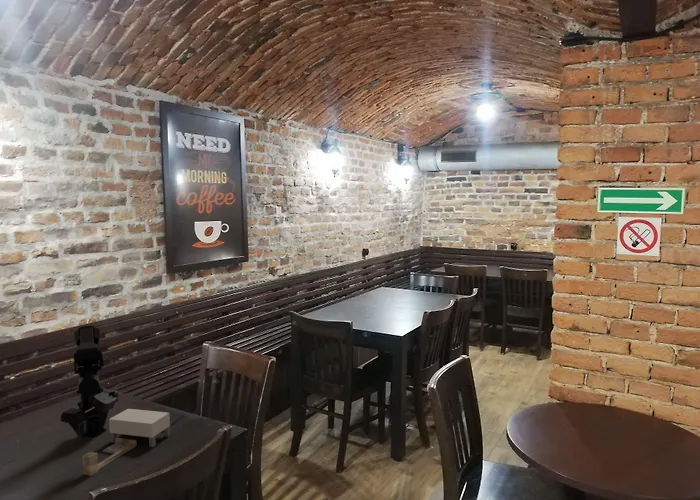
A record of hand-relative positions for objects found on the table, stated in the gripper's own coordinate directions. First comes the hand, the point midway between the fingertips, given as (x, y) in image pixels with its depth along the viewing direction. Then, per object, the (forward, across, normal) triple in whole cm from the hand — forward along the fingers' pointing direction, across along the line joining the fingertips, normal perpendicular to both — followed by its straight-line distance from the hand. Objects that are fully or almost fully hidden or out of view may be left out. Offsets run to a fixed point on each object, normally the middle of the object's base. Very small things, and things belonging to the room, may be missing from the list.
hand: (92, 431), depth 165 cm
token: (+12, +11, +1) cm, 17 cm away
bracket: (+13, +34, +1) cm, 36 cm away
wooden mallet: (+11, +5, 0) cm, 12 cm away
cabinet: (+12, +20, -2) cm, 24 cm away
